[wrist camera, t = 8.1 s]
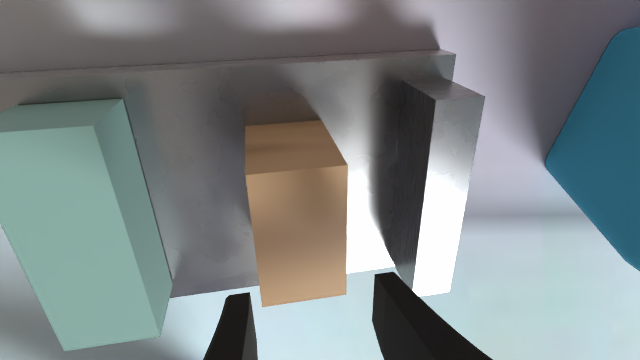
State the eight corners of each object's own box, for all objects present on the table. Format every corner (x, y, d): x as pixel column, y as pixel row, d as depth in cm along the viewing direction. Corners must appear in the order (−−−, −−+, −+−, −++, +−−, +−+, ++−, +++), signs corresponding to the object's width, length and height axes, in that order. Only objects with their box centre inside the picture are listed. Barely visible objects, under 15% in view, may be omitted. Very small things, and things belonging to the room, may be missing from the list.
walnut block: (324, 227, 20) (346, 294, 16) (258, 235, 20) (262, 307, 15) (321, 120, 17) (348, 165, 13) (245, 126, 17) (245, 175, 12)
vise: (417, 246, 24) (455, 304, 20) (78, 291, 21) (34, 372, 17) (440, 49, 18) (502, 68, 14) (-15, 73, 15) (-117, 108, 11)
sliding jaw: (172, 284, 20) (160, 336, 17) (91, 295, 19) (63, 351, 16) (122, 98, 15) (93, 125, 12) (14, 105, 15) (-44, 135, 12)
